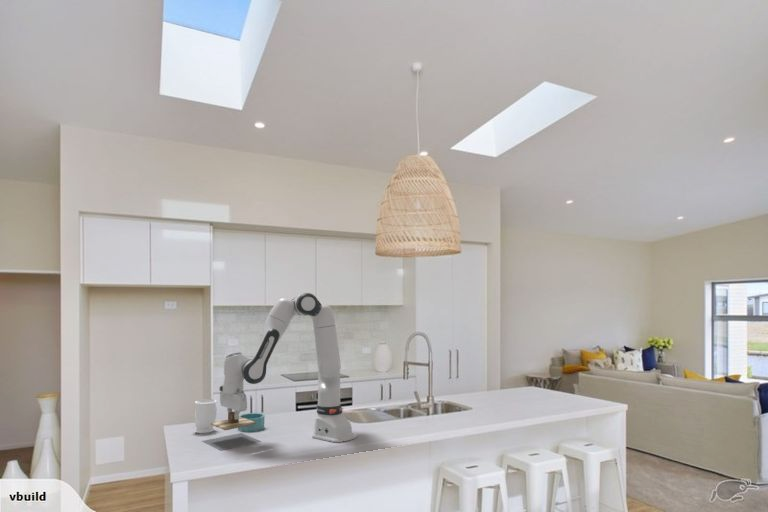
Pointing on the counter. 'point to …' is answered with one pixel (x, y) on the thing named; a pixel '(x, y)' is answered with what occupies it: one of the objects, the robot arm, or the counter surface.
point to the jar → (205, 415)
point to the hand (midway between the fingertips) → (233, 418)
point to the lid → (232, 422)
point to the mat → (231, 441)
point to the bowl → (256, 418)
